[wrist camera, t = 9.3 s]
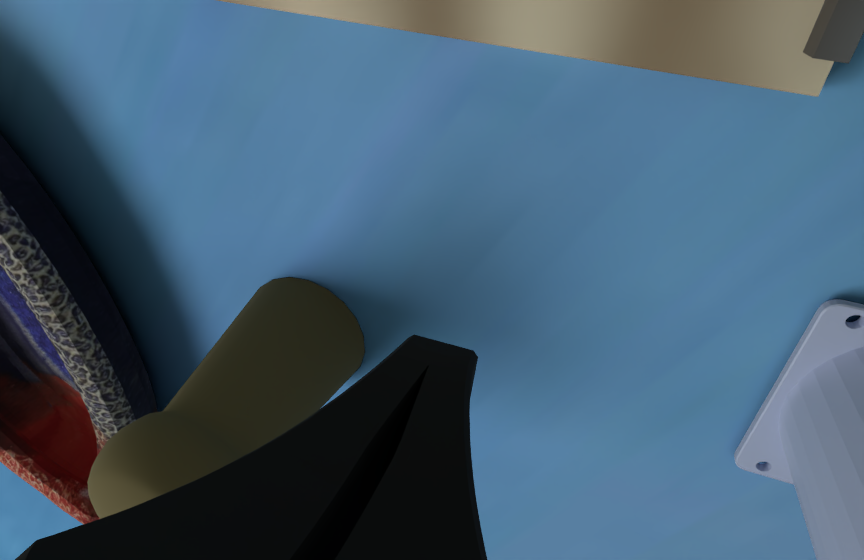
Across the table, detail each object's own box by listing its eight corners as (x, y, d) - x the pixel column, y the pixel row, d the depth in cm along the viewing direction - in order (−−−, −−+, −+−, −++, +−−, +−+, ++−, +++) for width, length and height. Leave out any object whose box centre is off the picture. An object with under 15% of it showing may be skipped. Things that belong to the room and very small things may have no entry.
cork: (269, 253, 25) (57, 426, 16) (384, 325, 25) (240, 540, 16) (237, 339, 28) (48, 523, 19) (338, 402, 28) (198, 616, 19)
